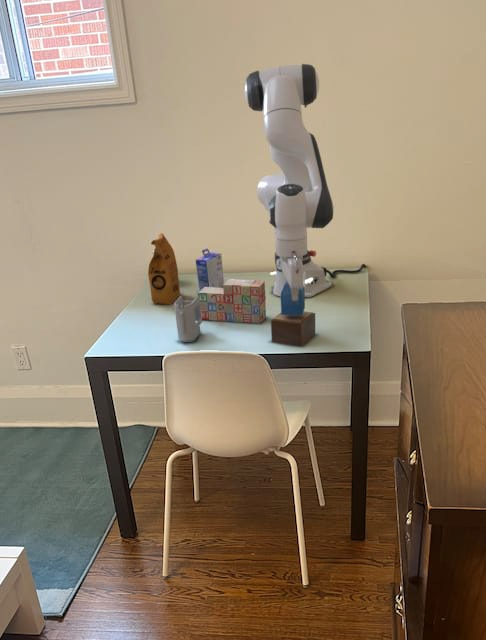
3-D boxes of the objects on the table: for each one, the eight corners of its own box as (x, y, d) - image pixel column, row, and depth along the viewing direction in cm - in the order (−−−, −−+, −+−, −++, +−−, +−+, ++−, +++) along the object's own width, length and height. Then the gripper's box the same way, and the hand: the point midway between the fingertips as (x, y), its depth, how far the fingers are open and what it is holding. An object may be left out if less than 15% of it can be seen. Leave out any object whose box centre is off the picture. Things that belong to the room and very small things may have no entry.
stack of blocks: (200, 320, 222) (196, 283, 216) (207, 313, 227) (203, 277, 221) (260, 323, 216) (259, 286, 209) (266, 317, 221) (265, 280, 214)
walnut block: (286, 330, 209) (285, 308, 205) (315, 334, 205) (315, 311, 201) (271, 342, 202) (270, 318, 198) (301, 346, 198) (301, 323, 194)
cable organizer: (204, 330, 214) (200, 293, 208) (193, 345, 204) (189, 306, 198) (184, 329, 216) (180, 293, 209) (173, 344, 205) (168, 306, 199)
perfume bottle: (302, 314, 196) (301, 273, 189) (281, 314, 197) (280, 273, 190) (304, 307, 201) (304, 267, 194) (284, 307, 202) (283, 267, 196)
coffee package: (147, 304, 239) (138, 241, 227) (159, 293, 249) (150, 232, 237) (174, 305, 237) (166, 241, 225) (184, 293, 247) (177, 232, 235)
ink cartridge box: (213, 284, 254) (209, 245, 246) (225, 286, 252) (222, 247, 244) (198, 292, 248) (194, 252, 240) (210, 294, 245) (206, 253, 237)
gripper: (308, 256, 180) (309, 306, 188) (297, 238, 197) (297, 284, 205) (285, 258, 180) (286, 308, 188) (275, 239, 197) (277, 286, 205)
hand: (292, 295), depth 196 cm, fingers closed on perfume bottle, 7 cm apart
